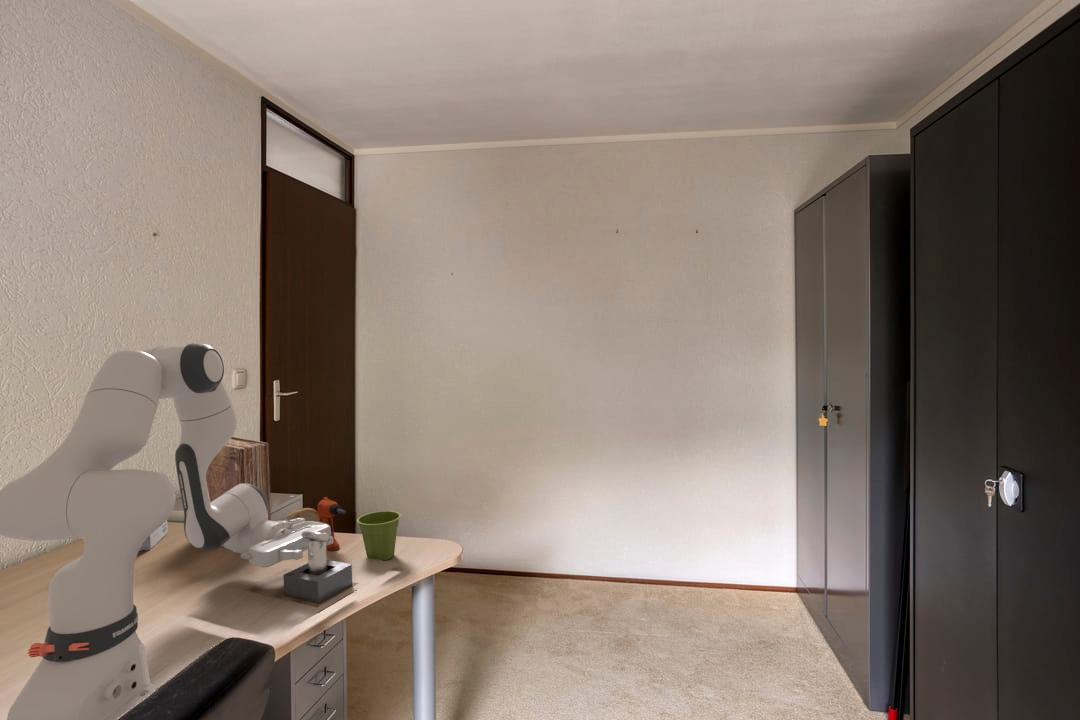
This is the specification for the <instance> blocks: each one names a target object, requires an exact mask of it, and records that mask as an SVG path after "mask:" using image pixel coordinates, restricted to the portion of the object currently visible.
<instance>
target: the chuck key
mask: <svg viewBox="0 0 1080 720" xmlns="http://www.w3.org/2000/svg"><path fill="white" fill-rule="evenodd" d="M301 536H302V538H304V539H310V540H308V550H307V558H308V559H307V560H308V564H309V574H311V575H316V576H319V575H321V574H323V573H325V572H327V560H328V558H327V556H328V555H327V551H326V542H329V541H330V539H331V535H330V534H325V533H318V532H312V531H303V532H302V535H301Z"/></svg>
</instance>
